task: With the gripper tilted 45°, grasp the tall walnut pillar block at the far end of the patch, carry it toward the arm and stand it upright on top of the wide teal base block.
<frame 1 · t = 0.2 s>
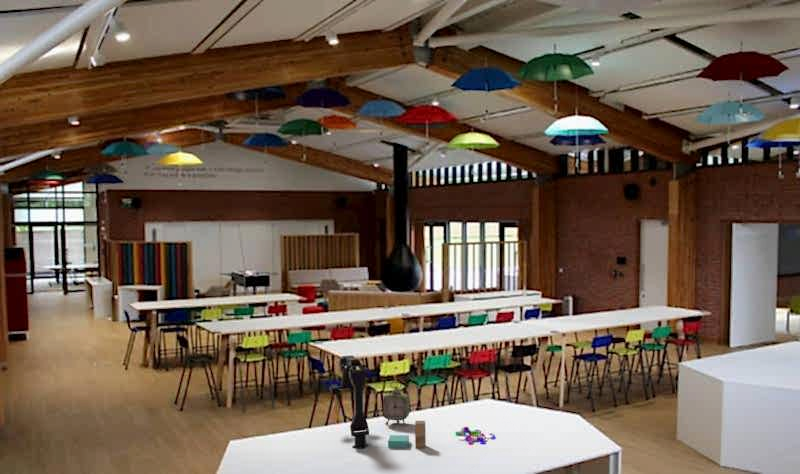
hand: (346, 401, 389), 16 cm above the table, tool pointing down, fingers open, 9 cm apart
teal base block: (398, 445, 357), on the table
tabletop clock: (397, 424, 396), on the table
walnut pillar: (420, 446, 354), on the table
building block set: (475, 438, 369), on the table
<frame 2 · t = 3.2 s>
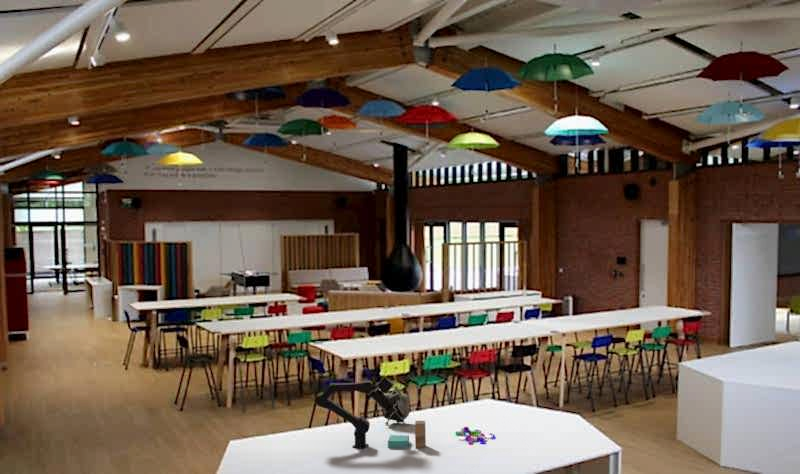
hand: (403, 419, 355), 14 cm above the table, tool tilted 45°, fingers open, 9 cm apart
nothing on the table moved.
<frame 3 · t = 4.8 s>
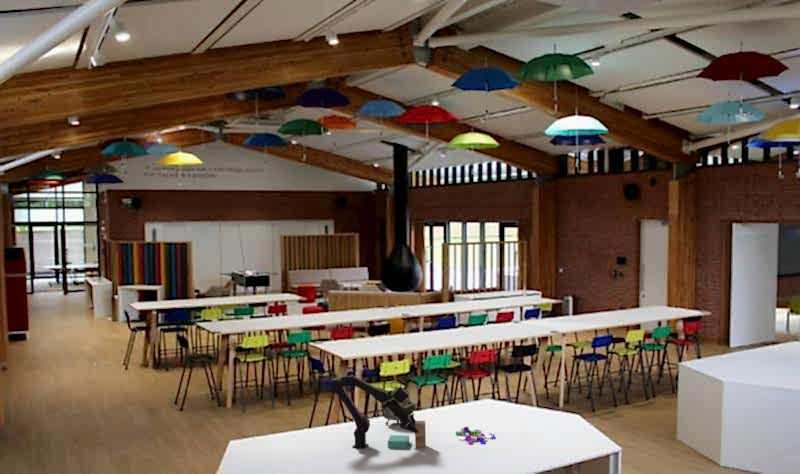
hand: (418, 430, 354), 9 cm above the table, tool tilted 45°, fingers open, 9 cm apart
nothing on the table moved.
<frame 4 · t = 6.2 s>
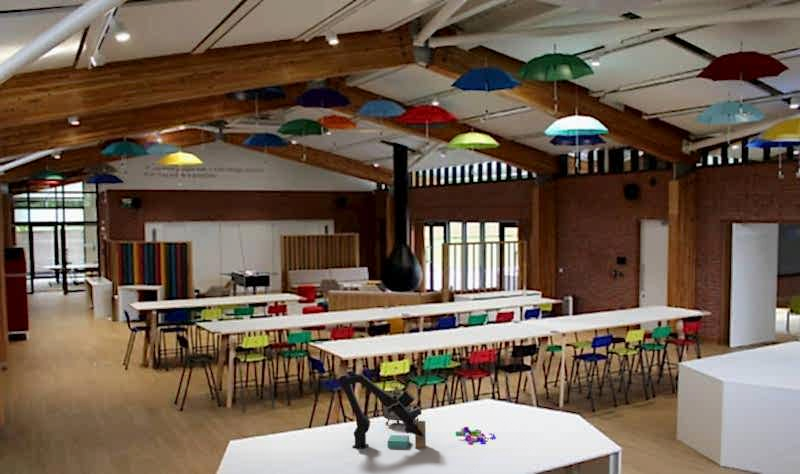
hand: (423, 434, 353), 7 cm above the table, tool tilted 45°, fingers closed on walnut pillar, 5 cm apart
walnut pillar: (420, 446, 354), on the table, touching gripper
everything else where it was.
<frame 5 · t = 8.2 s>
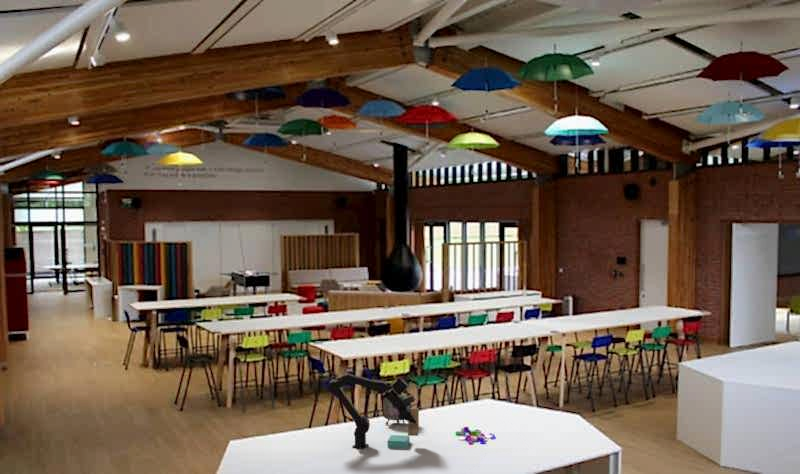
hand: (416, 421, 354), 13 cm above the table, tool tilted 45°, fingers closed on walnut pillar, 5 cm apart
walnut pillar: (413, 434, 354), point 6 cm above the table, touching gripper
everything else where it was.
when the fingers open (12 cm above the table, at t = 10.1 s): walnut pillar drops 1 cm, point 4 cm above the table.
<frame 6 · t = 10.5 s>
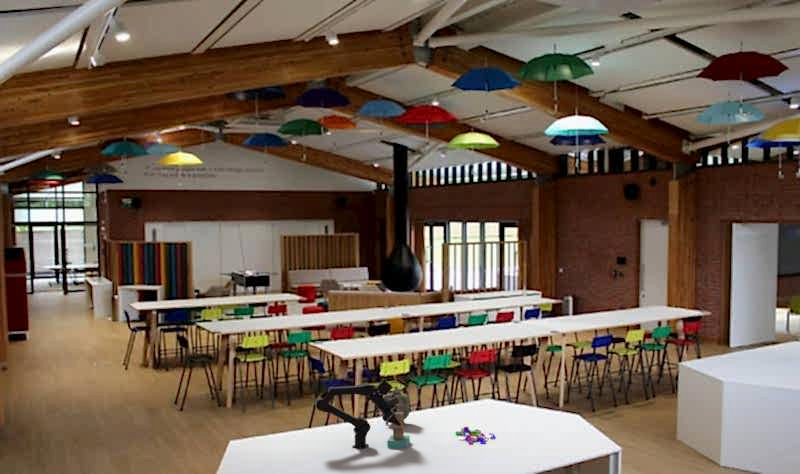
hand: (400, 422, 357), 12 cm above the table, tool tilted 45°, fingers open, 9 cm apart
walnut pillar: (398, 438, 357), point 4 cm above the table
everything else where it was.
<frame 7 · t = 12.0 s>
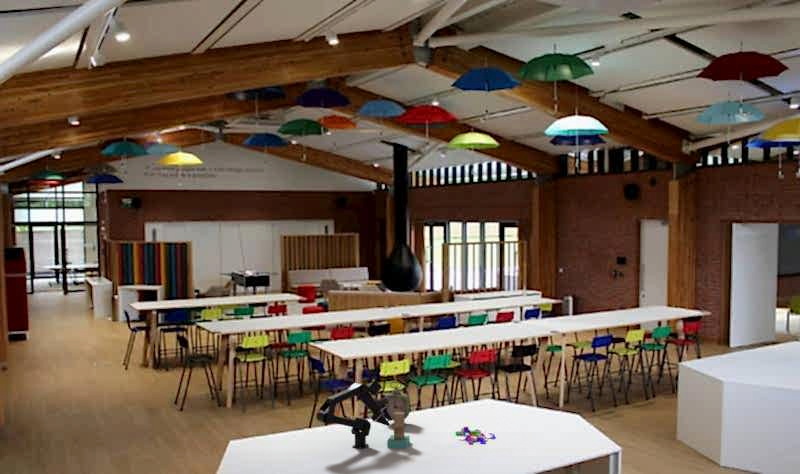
hand: (390, 422, 357), 12 cm above the table, tool tilted 45°, fingers open, 9 cm apart
teal base block: (398, 445, 357), on the table, touching walnut pillar
walnut pillar: (399, 438, 357), point 4 cm above the table, touching teal base block
everything else where it was.
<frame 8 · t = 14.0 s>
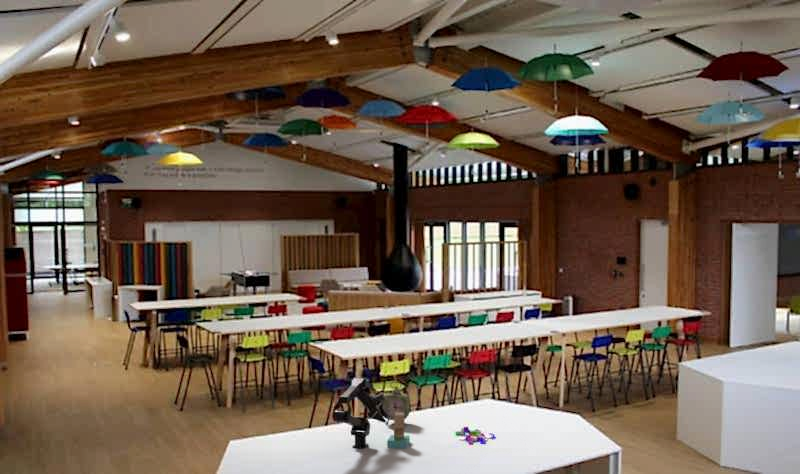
hand: (386, 419, 357), 14 cm above the table, tool tilted 45°, fingers open, 9 cm apart
teal base block: (398, 445, 358), on the table
walnut pillar: (398, 438, 357), point 4 cm above the table
everything else where it was.
at the end: walnut pillar 0.4 cm off-centre on the teal base block, point 4.1 cm above the teal base block's base; walnut pillar tilted 2°; the gripper is holding nothing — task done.
